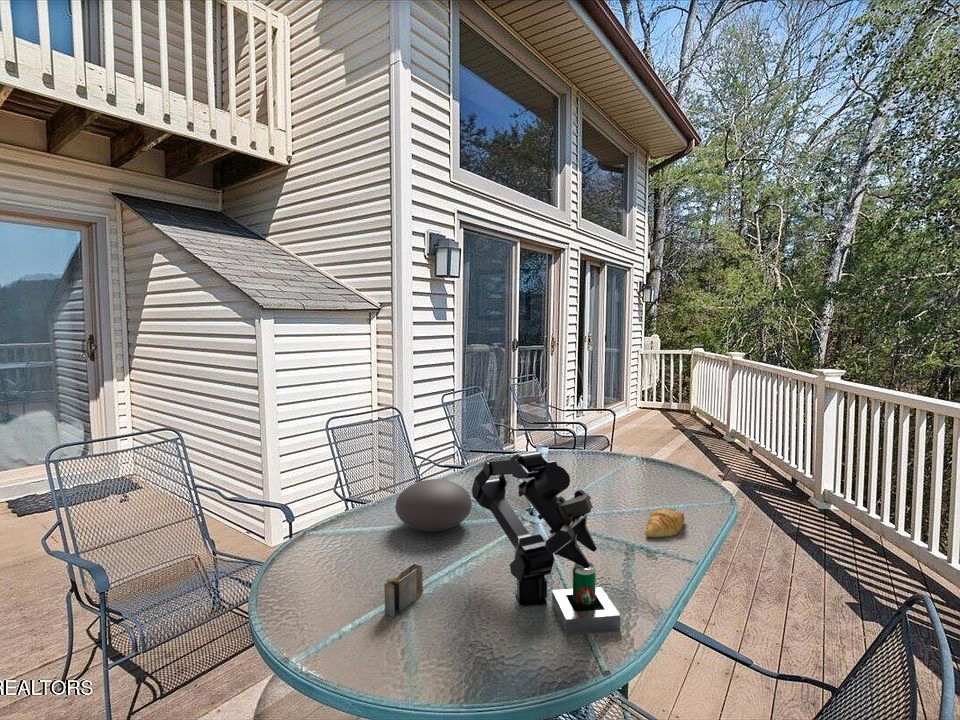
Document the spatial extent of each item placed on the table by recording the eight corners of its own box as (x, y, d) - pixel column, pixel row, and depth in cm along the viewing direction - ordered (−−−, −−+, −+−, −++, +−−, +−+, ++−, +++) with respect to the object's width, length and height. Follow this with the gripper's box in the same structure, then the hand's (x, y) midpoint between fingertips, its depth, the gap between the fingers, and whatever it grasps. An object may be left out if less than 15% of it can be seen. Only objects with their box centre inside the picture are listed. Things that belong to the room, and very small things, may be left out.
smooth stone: (487, 525, 170) (487, 480, 169) (430, 550, 152) (429, 500, 151) (437, 507, 187) (436, 466, 186) (380, 527, 169) (379, 482, 167)
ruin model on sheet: (395, 619, 118) (394, 577, 117) (385, 615, 119) (384, 574, 119) (424, 595, 128) (423, 557, 127) (414, 592, 129) (413, 554, 129)
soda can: (579, 607, 121) (579, 558, 120) (599, 615, 118) (599, 564, 117) (568, 617, 117) (568, 566, 116) (588, 625, 114) (589, 572, 113)
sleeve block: (566, 634, 111) (566, 619, 111) (552, 604, 123) (552, 590, 123) (620, 630, 112) (620, 615, 112) (601, 600, 124) (601, 586, 124)
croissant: (654, 553, 157) (666, 534, 154) (629, 529, 163) (640, 511, 160) (688, 532, 171) (700, 515, 168) (663, 511, 177) (674, 494, 174)
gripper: (562, 493, 109) (614, 555, 105) (579, 471, 126) (624, 523, 123) (525, 524, 112) (573, 584, 109) (546, 498, 129) (589, 550, 126)
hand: (592, 558), depth 116 cm, fingers open, 9 cm apart
